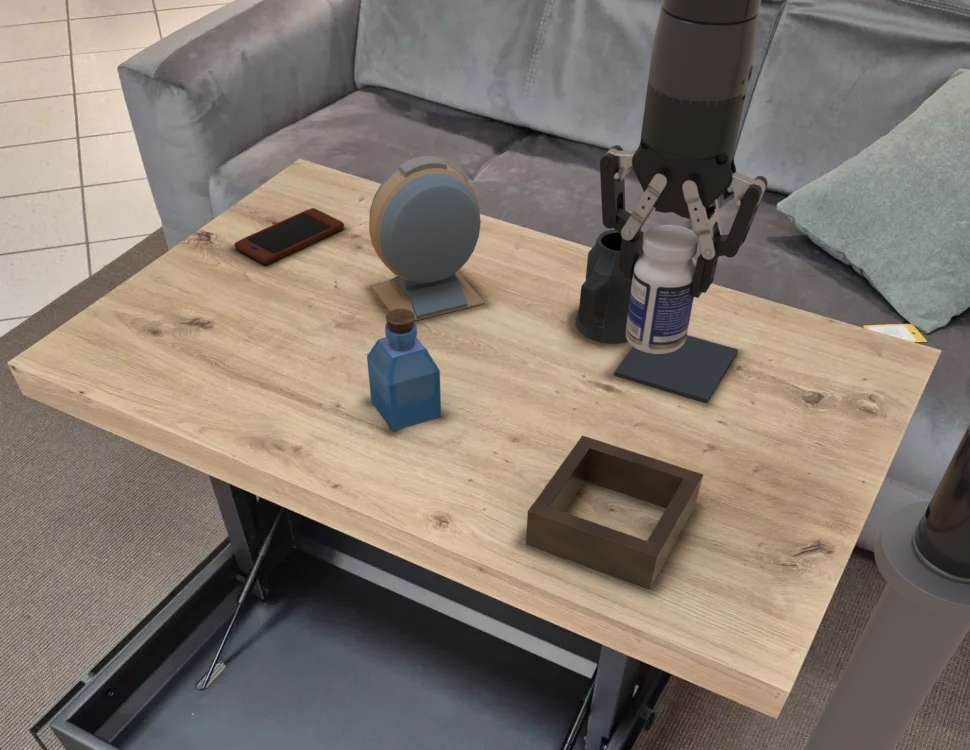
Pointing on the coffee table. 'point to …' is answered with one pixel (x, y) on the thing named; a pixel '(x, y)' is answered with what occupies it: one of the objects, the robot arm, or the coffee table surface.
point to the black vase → (604, 292)
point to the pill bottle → (662, 290)
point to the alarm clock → (425, 237)
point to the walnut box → (602, 543)
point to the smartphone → (288, 235)
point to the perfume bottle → (403, 374)
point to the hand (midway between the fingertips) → (664, 284)
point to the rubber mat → (680, 368)
